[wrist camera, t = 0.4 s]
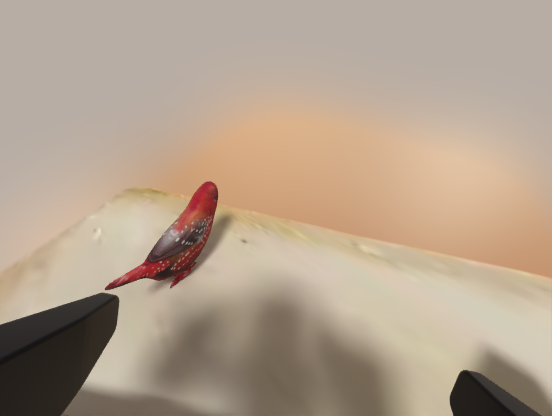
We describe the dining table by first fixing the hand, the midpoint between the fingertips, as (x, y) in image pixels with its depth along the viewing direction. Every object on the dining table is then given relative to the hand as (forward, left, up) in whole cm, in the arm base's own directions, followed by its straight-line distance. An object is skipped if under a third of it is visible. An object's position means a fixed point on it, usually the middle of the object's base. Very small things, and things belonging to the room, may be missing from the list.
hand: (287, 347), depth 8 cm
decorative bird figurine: (+21, +11, -17) cm, 29 cm away
